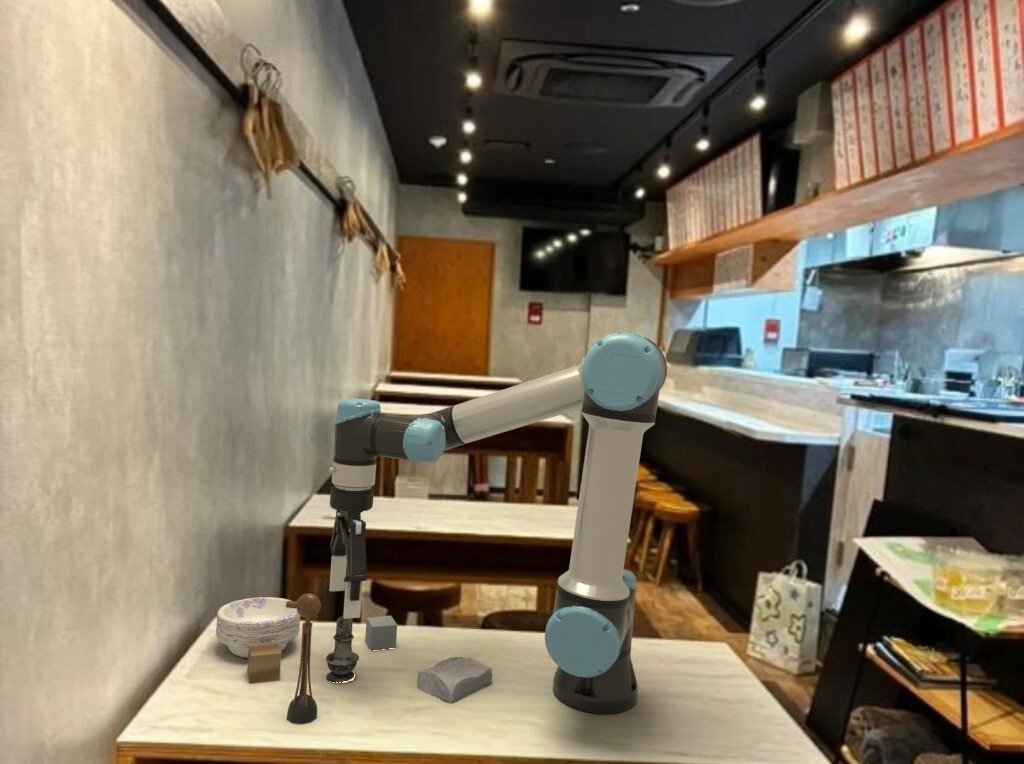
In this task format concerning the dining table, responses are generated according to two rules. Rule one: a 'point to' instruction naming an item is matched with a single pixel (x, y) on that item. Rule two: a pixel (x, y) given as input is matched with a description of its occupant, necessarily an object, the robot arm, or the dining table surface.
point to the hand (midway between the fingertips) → (343, 603)
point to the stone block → (454, 678)
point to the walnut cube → (264, 662)
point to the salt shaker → (342, 653)
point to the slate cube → (381, 633)
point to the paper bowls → (256, 623)
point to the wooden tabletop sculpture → (304, 662)
